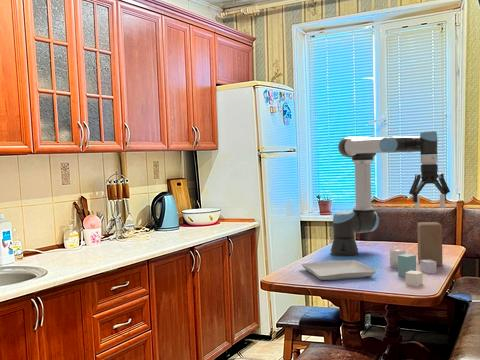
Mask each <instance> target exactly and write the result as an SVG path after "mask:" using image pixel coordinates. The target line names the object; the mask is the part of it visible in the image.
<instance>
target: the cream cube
mask: <svg viewBox="0 0 480 360" xmlns="http://www.w3.org/2000/svg"><path fill="white" fill-rule="evenodd" d="M423 273H424V272H422V271H420V270H416V271H412V270H411V271H408V272H406V277H405V285H407V286H414V287H420V286H421V285H423V282H424V280H423V276H424V275H423Z"/></svg>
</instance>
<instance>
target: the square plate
mask: <svg viewBox="0 0 480 360" xmlns="http://www.w3.org/2000/svg"><path fill="white" fill-rule="evenodd" d="M300 265H301V266H302V268H304V269H305V270H306V271H307V272H309V273H311V274H312V275H314V276H316V277H317V278H318V279H319V280H321V281H334V280H335V281H337V280H349V279H350V280H351V278H352V279H361V278H365V277H366V278H369V277H371V276H374V275H375V274H377V273H378V270H376V269H375V268H373V267H370V266H368V265H366V264H364V263H362V262H360V261H358V260H356V259H355V260H354V259H345V260H328V261H327V260H325V261H315V262H307V263H305V262H304V263H301V264H300Z"/></svg>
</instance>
